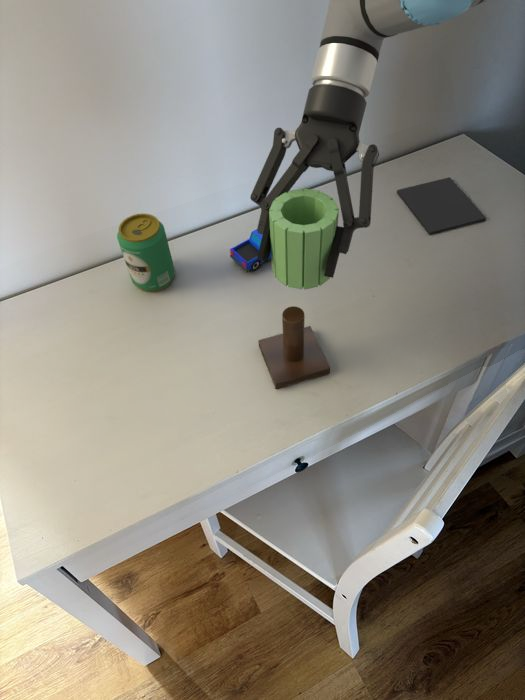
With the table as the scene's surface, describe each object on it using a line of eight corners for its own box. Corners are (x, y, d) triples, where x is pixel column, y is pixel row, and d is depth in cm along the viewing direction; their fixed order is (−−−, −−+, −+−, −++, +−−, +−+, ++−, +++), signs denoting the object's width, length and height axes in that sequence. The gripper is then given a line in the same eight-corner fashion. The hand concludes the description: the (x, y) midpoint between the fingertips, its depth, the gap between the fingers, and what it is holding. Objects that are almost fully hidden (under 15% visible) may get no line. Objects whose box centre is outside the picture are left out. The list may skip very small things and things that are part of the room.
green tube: (341, 282, 73) (347, 225, 65) (280, 294, 73) (278, 238, 65) (323, 241, 79) (326, 184, 71) (266, 252, 78) (263, 195, 70)
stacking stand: (330, 373, 84) (334, 329, 75) (275, 389, 82) (273, 346, 74) (310, 331, 89) (311, 285, 80) (258, 345, 88) (254, 300, 79)
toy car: (300, 249, 101) (300, 228, 97) (249, 278, 97) (247, 258, 93) (278, 231, 104) (277, 210, 101) (228, 258, 100) (225, 238, 97)
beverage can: (123, 285, 98) (105, 234, 88) (148, 257, 102) (133, 206, 92) (159, 299, 95) (144, 248, 86) (184, 270, 99) (172, 218, 90)
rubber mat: (485, 220, 103) (486, 217, 103) (429, 235, 102) (429, 232, 101) (449, 179, 112) (449, 176, 111) (396, 192, 110) (396, 189, 109)
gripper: (424, 115, 68) (376, 288, 72) (268, 90, 74) (232, 252, 78) (423, 95, 61) (370, 287, 65) (251, 69, 67) (212, 248, 71)
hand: (295, 268), depth 72 cm, fingers closed on green tube, 9 cm apart
